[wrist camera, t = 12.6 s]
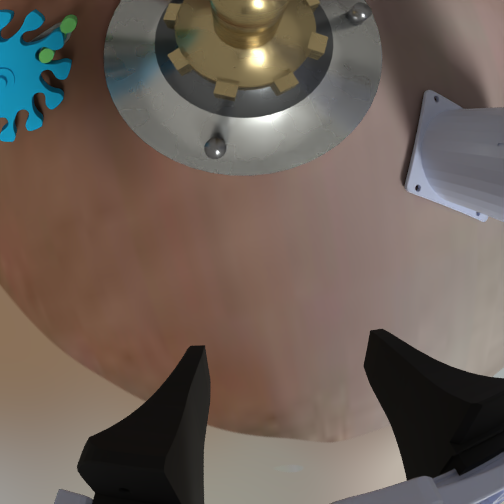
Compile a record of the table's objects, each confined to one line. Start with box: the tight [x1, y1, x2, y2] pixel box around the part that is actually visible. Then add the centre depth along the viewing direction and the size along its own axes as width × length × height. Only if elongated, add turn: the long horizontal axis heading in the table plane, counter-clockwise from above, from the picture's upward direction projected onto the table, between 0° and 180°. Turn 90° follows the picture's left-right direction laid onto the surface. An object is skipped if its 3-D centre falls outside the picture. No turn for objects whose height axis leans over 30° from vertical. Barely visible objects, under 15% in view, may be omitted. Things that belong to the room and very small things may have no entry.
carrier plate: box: [104, 0, 382, 176], centre depth 15 cm, size 18×18×2 cm
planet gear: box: [163, 0, 328, 102], centre depth 12 cm, size 9×9×6 cm
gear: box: [0, 9, 77, 142], centre depth 13 cm, size 11×6×10 cm
